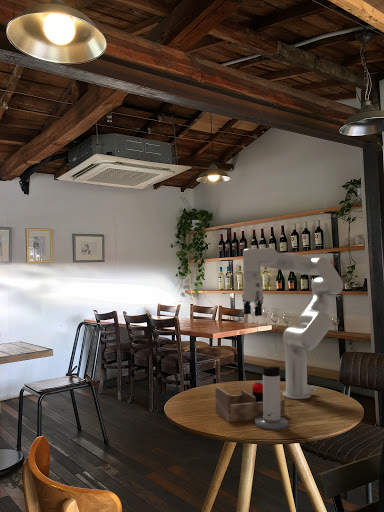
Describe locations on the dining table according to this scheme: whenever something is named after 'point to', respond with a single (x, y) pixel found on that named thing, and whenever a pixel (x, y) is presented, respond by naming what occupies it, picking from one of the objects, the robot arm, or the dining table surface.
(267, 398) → the travel mug
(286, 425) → the grey round plate
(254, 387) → the soda can
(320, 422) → the dining table surface
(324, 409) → the dining table surface
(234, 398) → the walnut rack
